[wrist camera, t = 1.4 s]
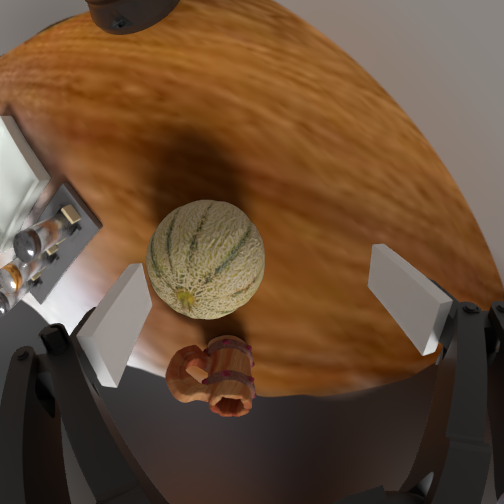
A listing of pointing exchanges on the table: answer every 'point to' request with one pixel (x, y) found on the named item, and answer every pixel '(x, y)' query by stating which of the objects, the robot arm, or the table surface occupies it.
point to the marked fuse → (22, 271)
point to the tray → (17, 180)
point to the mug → (215, 375)
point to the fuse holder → (69, 245)
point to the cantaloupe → (206, 259)
